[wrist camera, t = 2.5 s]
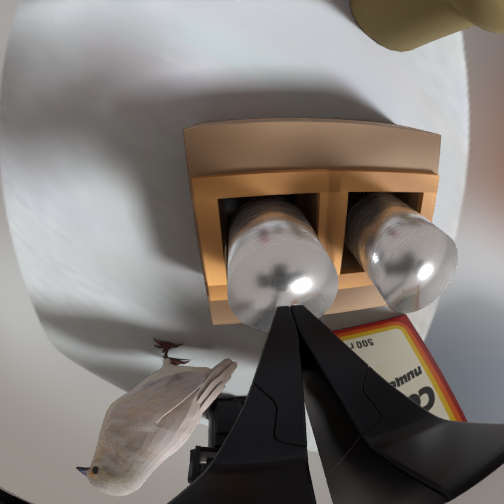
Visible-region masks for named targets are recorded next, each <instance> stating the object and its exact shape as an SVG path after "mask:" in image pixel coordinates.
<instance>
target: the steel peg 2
mask: <svg viewBox="0 0 504 504" xmlns="http://www.w3.org/2000/svg"><path fill="white" fill-rule="evenodd" d="M344 239H345V242H346V245H347V246H348V248H349V249H350V251H351V252H352V254H353V255H354V256H355V258H356V259H357V261H358V262H359V264H360V265H361V266H362V268H363V269H364V271H365V272H366V274H367V275H368V277H369V278H370V280H371V281H372V283H373V284H374V286H375V287H376V289H377V290H378V292H379V293H380V295H381V296H382V298H383V299H384V301H385V302H386V304H387V305H388V307H389V308H390V309H392V310H393V311H395V312H398V313H411V312H415V311H418V310H420V309H422V308H424V307H426V306H427V305H429V304H430V303H432V302H433V301H434V300H435V299H436V298H438V297H439V296H440V294H441V293H442V292H443V291H444V290H445V288H446V287H447V285H448V284H449V282H450V281H451V279H452V277H453V274H454V272H455V269H456V265H457V248H456V245H455V243H454V241H453V240H452V239H451V238H450V237H449V236H448V235H447V234H445V233H444V232H443V231H442V230H440V229H439V228H438V227H437V226H435V225H434V224H433V223H431V222H430V221H429V220H427V219H426V218H425V217H423V216H422V215H421V214H419V213H418V212H417V211H415V210H414V209H412V208H411V207H410V206H408V205H407V204H405V203H404V202H403V201H401V200H400V199H398V198H397V197H395V196H394V195H392V194H390V193H386V192H375V193H371V194H368V195H366V196H364V197H363V198H361V199H360V200H359V201H358V202H357V203H356V204H355V205H354V206H353V207H352V208H351V210H350V211H349V213H348V215H347V218H346V226H345V235H344Z"/></svg>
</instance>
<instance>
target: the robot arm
mask: <svg viewBox="0 0 504 504" xmlns="http://www.w3.org/2000/svg"><path fill="white" fill-rule="evenodd" d="M304 402H305V405H304ZM305 406H306V409H307V413H308V416H309V420H310V423H311V427H312V430H313V434H314V437H315V441H316V444H317V448H318V452H319V455H320V458H321V462H322V466H323V469H324V473H325V477H326V478H327V479H326V481H327V484H328V488H329V491H330V495H331V499H332V502H333V504H504V424H488V423H471V422H460V421H451V420H446V419H442V418H440V417H438V416H435V415H434V414H432V413H430V412H429V411H427V410H426V409H424V408H423V407H422V406H420V405H419V404H417V403H416V402H414V401H413V400H412V399H410V398H409V397H407V396H406V395H405V394H403V393H402V392H400V391H399V390H398V389H396V388H395V387H394V386H392V385H391V384H390V383H389V382H387V381H386V380H385V379H384V378H383V377H382V376H380V375H379V374H378V373H377V372H376V371H375V370H374V369H373V368H371V367H370V366H369V367H368V364H367V363H366V362H365V361H364V360H363V359H362V358H360V357H359V356H358V355H357V354H356V353H355V352H354V351H353V350H352V349H351V348H350V347H348V346H347V345H346V344H345V343H344V342H343V341H342V340H341V339H340V338H339V337H338V336H336V335H335V334H334V333H333V332H332V331H331V330H330V329H329V328H328V327H327V326H326V325H325V324H323V323H322V322H321V321H320V320H319V319H318V318H317V317H316V316H315V315H314V314H313V313H312V312H310V311H309V310H308V309H307V308H306V307H305V306H304V305H302V304H296V305H291V306H290V307H289V306H288V305H287V306H278V307H277V308H276V310H275V314H274V317H273V320H272V323H271V326H270V330H269V333H268V336H267V339H266V342H265V345H264V348H263V351H262V355H261V358H260V361H259V364H258V367H257V370H256V373H255V376H254V379H253V381H252V385H251V387H250V390H249V393H248V395H247V398H243V399H223V400H214V401H213V402H212V403H211V404H210V405H209V407H208V408H207V409H206V410H205V413H206V415H207V418H208V420H209V429H208V433H209V434H208V447H201V446H196V449H193V450H190V465H189V472H188V483H189V484H190V485H189V486H188V487H187V488H186V489H184V490H183V491H182V492H181V493H180V494H179V495H177V496H176V497H175V498H173V499H172V500H171V501H170V502H168V503H167V504H316V500H315V495H314V490H313V485H312V480H311V476H310V471H309V465H308V454H307V436H306V419H305ZM202 461H203V462H206V463H202ZM0 504H33V503H31V502H29V501H27V500H25V499H23V498H21V497H19V496H16V495H15V494H13V493H11V492H9V491H7V490H5V489H3V488H2V487H0Z"/></svg>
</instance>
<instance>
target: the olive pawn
mask: <svg viewBox="0 0 504 504" xmlns="http://www.w3.org/2000/svg"><path fill="white" fill-rule="evenodd" d="M350 6H351V11H352V14H353V16H354V18H355V20H356V22H357V24H358V25H359V26H360V27H361V29H362V30H363V31H364V32H365V33H366V35H367V36H369V37H370V38H371V39H373V40H374V41H375V42H376V43H378V44H379V45H381V46H383V47H385V48H388V49H390V50H394V51H399V52H404V51H410V50H413V49H415V48H417V47H420V46H422V45H425V44H427V43H429V42H432V41H434V40H437V39H439V38H442V37H445V36H447V35H450V34H453V33H455V32H458V31H461V30H464V29H467V28H470V27H473V26H478V27H480V28H482V29H484V30H486V31H489V32H493V33H501V34H504V0H350Z"/></svg>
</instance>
